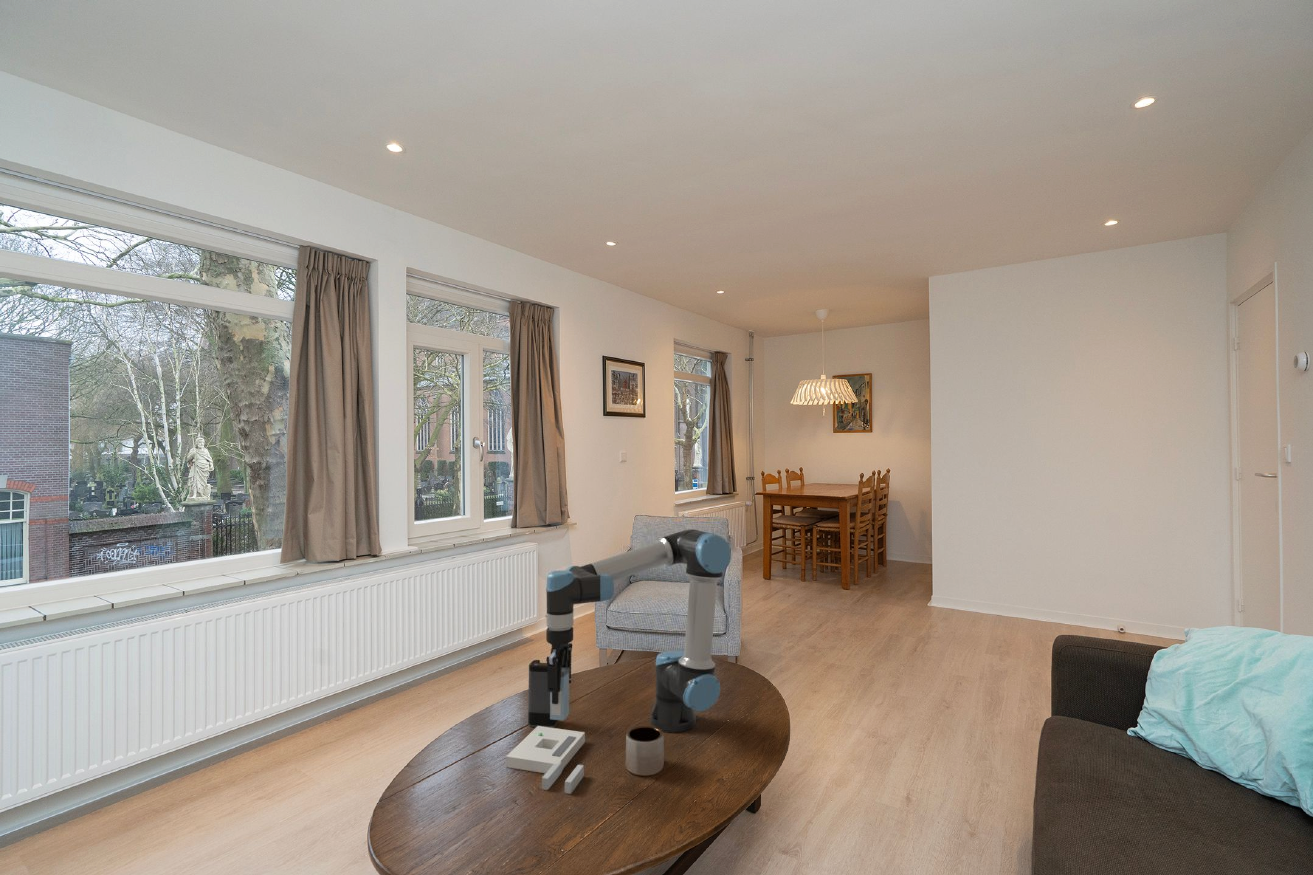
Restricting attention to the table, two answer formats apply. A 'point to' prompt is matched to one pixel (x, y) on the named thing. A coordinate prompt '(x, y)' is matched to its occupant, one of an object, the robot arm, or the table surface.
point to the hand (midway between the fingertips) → (559, 710)
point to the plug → (563, 695)
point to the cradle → (570, 781)
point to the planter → (644, 750)
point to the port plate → (545, 749)
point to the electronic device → (539, 696)
